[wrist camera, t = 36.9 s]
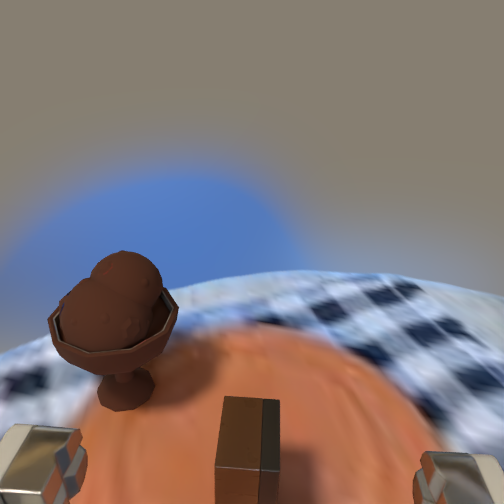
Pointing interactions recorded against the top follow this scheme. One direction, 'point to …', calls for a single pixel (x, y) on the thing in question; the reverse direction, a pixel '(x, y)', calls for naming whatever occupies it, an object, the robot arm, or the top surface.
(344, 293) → the top surface
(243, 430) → the eraser
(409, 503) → the top surface
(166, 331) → the ice cream bowl
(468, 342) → the top surface
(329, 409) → the top surface
